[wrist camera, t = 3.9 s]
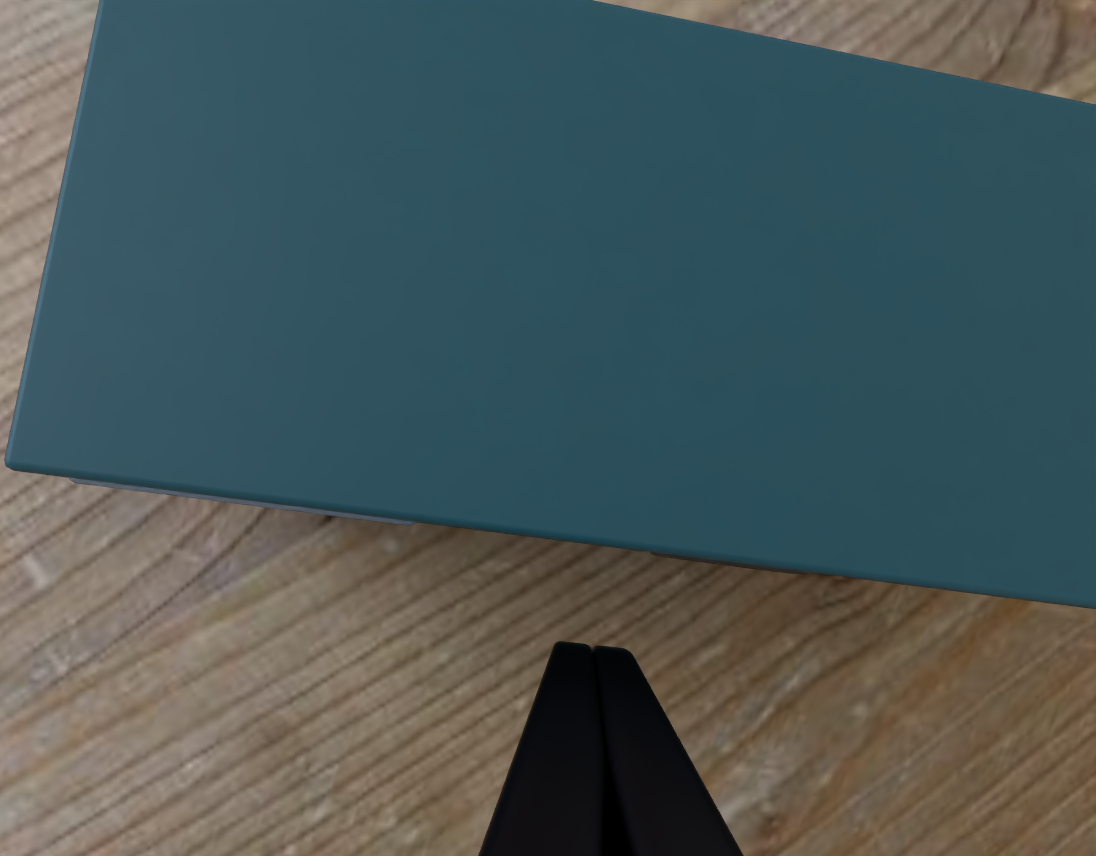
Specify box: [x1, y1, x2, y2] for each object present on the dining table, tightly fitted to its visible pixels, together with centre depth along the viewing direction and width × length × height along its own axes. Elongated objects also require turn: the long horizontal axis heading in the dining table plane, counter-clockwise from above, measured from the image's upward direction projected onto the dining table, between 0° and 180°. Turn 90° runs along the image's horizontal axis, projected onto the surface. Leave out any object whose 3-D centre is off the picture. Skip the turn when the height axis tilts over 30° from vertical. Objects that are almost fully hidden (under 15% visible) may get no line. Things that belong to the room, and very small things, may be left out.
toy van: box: [4, 0, 1096, 609], centre depth 13 cm, size 12×6×8 cm, turn 83°
